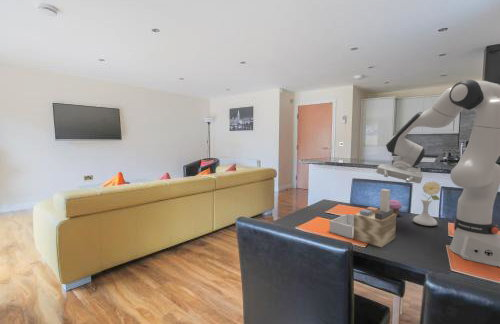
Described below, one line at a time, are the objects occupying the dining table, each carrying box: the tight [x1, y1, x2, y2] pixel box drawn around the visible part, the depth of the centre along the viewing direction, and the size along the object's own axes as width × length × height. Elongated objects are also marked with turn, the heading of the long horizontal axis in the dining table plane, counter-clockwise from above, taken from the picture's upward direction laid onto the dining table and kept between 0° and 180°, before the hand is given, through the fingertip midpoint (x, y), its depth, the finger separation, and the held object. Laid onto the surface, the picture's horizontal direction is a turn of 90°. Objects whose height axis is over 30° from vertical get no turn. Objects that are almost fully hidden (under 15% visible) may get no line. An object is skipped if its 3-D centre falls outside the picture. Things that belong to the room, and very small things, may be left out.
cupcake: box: [389, 199, 402, 217], centre depth 160 cm, size 9×9×10 cm
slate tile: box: [359, 208, 372, 216], centre depth 122 cm, size 4×4×2 cm
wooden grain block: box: [352, 209, 397, 248], centre depth 123 cm, size 13×16×12 cm
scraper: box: [375, 188, 393, 220], centre depth 119 cm, size 3×13×12 cm, turn 131°
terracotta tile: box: [365, 206, 379, 213], centre depth 127 cm, size 4×4×2 cm
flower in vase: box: [412, 180, 442, 227], centre depth 142 cm, size 13×11×25 cm
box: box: [329, 213, 354, 240], centre depth 133 cm, size 12×18×6 cm, turn 131°
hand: (396, 178), depth 124 cm, fingers open, 8 cm apart
